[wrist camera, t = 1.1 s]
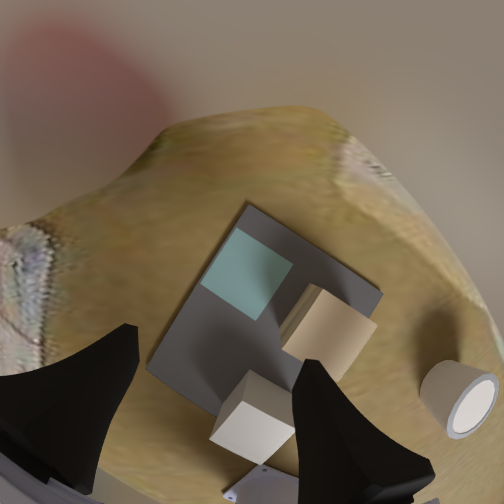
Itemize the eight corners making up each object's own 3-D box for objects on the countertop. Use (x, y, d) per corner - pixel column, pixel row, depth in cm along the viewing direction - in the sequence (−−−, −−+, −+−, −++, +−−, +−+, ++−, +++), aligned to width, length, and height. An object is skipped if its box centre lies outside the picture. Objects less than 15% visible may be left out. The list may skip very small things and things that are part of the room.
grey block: (291, 393, 21) (297, 429, 15) (263, 426, 21) (260, 465, 15) (249, 369, 22) (242, 400, 16) (222, 403, 22) (208, 439, 16)
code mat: (381, 293, 22) (383, 293, 21) (268, 441, 22) (268, 444, 21) (249, 205, 23) (249, 204, 23) (147, 366, 23) (145, 369, 23)
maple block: (352, 310, 22) (377, 325, 16) (322, 354, 22) (337, 381, 16) (309, 282, 22) (323, 288, 16) (279, 328, 22) (281, 349, 16)
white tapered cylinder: (409, 376, 21) (445, 404, 14) (458, 342, 21) (499, 358, 14) (418, 421, 21) (447, 452, 14) (464, 388, 20) (498, 410, 14)
